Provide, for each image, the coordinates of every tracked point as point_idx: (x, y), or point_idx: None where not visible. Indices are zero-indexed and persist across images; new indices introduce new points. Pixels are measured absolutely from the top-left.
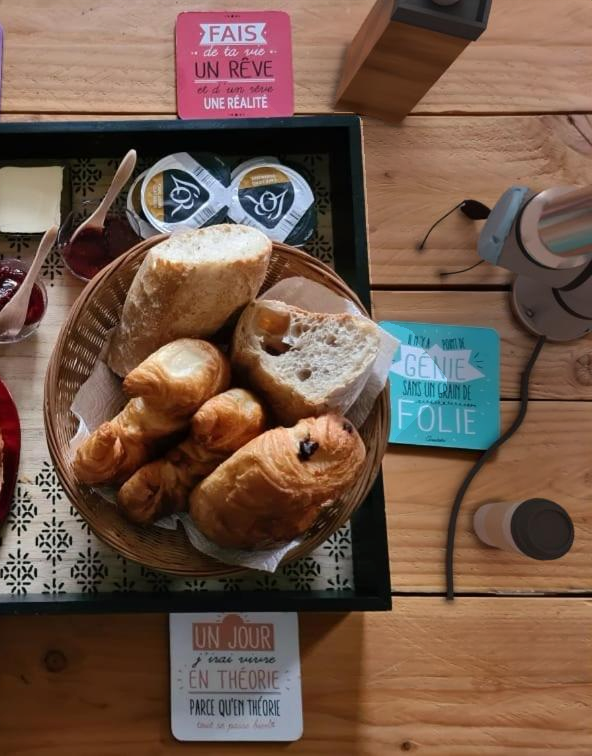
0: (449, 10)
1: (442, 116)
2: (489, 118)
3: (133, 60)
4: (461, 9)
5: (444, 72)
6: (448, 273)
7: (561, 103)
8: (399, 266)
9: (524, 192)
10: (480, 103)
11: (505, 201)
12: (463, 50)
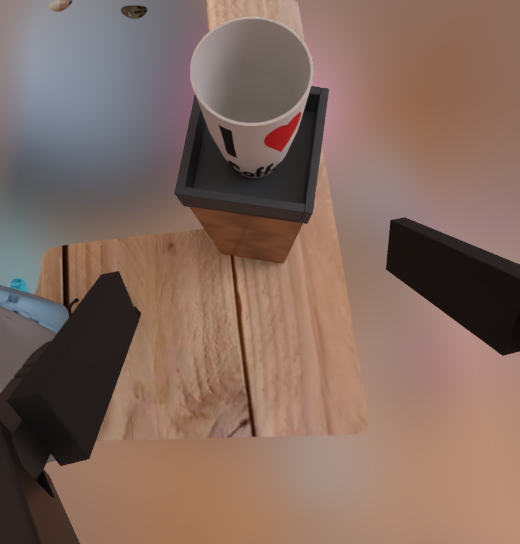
0: (223, 164)
1: (234, 293)
2: (237, 339)
3: None
4: (226, 179)
5: (204, 228)
6: (71, 303)
7: (261, 413)
8: (85, 262)
9: (1, 304)
10: (251, 329)
11: (18, 293)
12: (193, 212)
